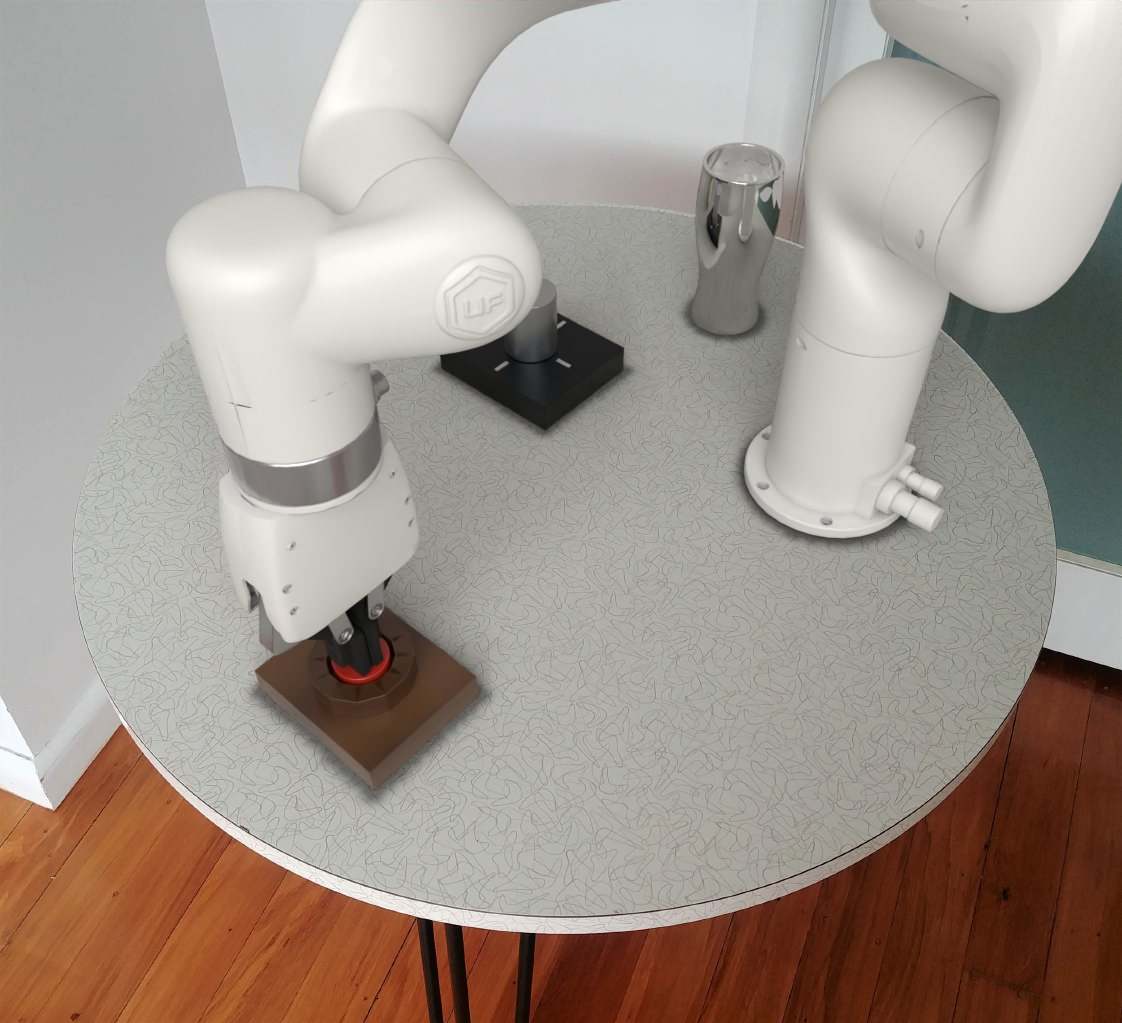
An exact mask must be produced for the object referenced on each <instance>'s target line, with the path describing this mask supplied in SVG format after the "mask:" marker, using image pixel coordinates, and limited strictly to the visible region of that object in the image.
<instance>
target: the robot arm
mask: <svg viewBox="0 0 1122 1023" xmlns="http://www.w3.org/2000/svg"><path fill="white" fill-rule="evenodd" d="M618 1H620V0H360V1H359V2H358V4H357V6H356V7H355V9H354V11H353V13H352V15H351V17H350V18H349V20H348V22H347V25H346V27H345V29H344V30H343V33H342V34H341V37H340V40H339V41H338V44H337V47H336V48H335V52H334V54H333V57H332V59H331V62H330V64H329V65H328V66H329V67H328V69H327V71H326V74H325V77H324V79H323V82H322V84H321V87H320V89H319V92H318V95H317V96H316V99H315V102H314V105H313V108H312V110H311V113H310V116H309V119H308V122H307V125H306V129H305V132H304V135H303V139H302V143H301V149H300V156H299V162H298V163H299V164H298V188H299V190H296V189H292V188H289V187H282V186H273V185H272V186H271V185H269V186H268V185H264V186H263V185H262V186H261V185H259V186H258V185H257V186H247V187H241V188H240V187H239V188H236V189H235V188H234V189H231V190H228V191H223V192H220V193H218V194H215V195H213V196H210V197H207V198H205V199H204V200H202V201H200V202H198V203H196V204H195V205H193V207H191V208H189V209H188V210H187V211H186V212H185V213H184V214H183V215H181V217H179V218H178V220H177V221H176V223H174V225H173V227H172V228H171V231H170V233H169V235H168V237H167V239H166V246H165V252H164V264H165V270H166V273H167V277H168V281H169V285H170V288H171V289H170V290H171V292H172V295H173V297H174V302H175V304H176V307H177V311H178V313H179V316H180V320H181V322H182V325H183V328H184V331H185V335H186V338H187V341H188V344H189V348H190V351H191V354H192V356H193V359H194V362H195V365H196V368H197V372H198V374H199V378H200V381H201V384H202V387H203V390H204V393H205V396H206V399H207V403H208V406H209V408H210V411H211V414H212V417H213V420H214V423H215V427H216V430H217V433H218V436H219V439H220V442H221V446H222V449H223V451H224V455H225V458H226V461H227V464H228V467H229V470H228V471H227V472H226V473H225V474H223V476H221V477H220V479H219V480H218V498H217V499H218V519H219V528H220V535H221V542H222V546H223V552H224V556H225V560H226V565H227V568H228V572H229V576H230V581H231V585H232V587H233V591H234V593H235V597H236V598H237V600H238V603H239V604H240V605H241V606H242V607H243V608H244V609H245V611H246V612H247V613H249V614H251V613H252V612H254V611H255V610H256V609H258V639H259V640H258V641H259V644H260V645H262V646H263V647H264V649H266V650H268V651H269V653H271V654H272V655H273V656H274V655H275V656H278V655H281V654H282V653H284V652H286V651H288V650H289V649H291V648H293V647H295V646H297V645H298V644H300V643H302V640H305V639H308V640H324V644H325V647H326V651H327V653H328V655H329V657H330V658H331V659H332V660H333V661H334V662H335V663H336V664H337V665H338V666H340V667H341V668H345V667H346V666H347V665H349V666H350V667H351V668H352V669H354V670H355V671H356V672H357V673H358V674H360V675H361V676H362V677H364V676H366V675H367V674H368V673H369V672H370V668H371V666H374V665H375V666H377V665H379V664H380V663H381V662H382V661H383V655H382V650H381V646H380V641H379V639H380V638H381V633H380V628H379V623H378V619H377V618H378V617H379V616H380V615H381V614H382V612H383V610H384V606H385V591H386V589H387V587H388V586H389V583H390V582H391V579H392V578H393V575H394V574H395V573H396V572H397V571H399V569H401V568H402V567H403V566H405V564H406V563H407V562H408V561H409V560H410V559H411V558H412V557H413V556H414V555H415V553H416V552H417V550H418V548H419V545H420V533H421V531H420V522H419V514H418V508H417V504H416V499H415V496H414V492H413V487H412V485H411V484H412V483H411V480H410V478H409V475H408V472H407V469H406V466H405V463H404V460H403V459H402V457H401V455H400V452H399V450H398V447H397V446H396V444H395V441H394V439H393V437H392V436H391V434H390V432H389V431H388V428H387V427H386V425H385V424H384V423H383V422H382V421H381V420H380V415H379V409H378V403H379V401H380V400H381V397H382V396H384V395H385V394H387V393H388V392H389V391H390V388H391V387H390V384H389V381H388V379H387V377H386V376H385V375H384V374H383V373H382V372H381V371H380V370H378V369H373V370H371V369H370V364H374V363H382V362H389V361H390V362H391V361H399V360H409V359H416V358H417V359H418V358H426V357H435V356H440V355H443V354H449V353H456V352H461V351H465V350H469V349H472V348H476V347H480V346H482V345H485V344H488V343H490V342H492V341H494V340H496V339H498V338H500V337H502V336H504V335H505V334H507V333H508V332H510V331H511V330H512V329H514V328H515V327H516V326H517V325H518V324H519V323H520V322H521V321H522V320H523V319H524V318H525V317H526V316H527V315H528V313H529V312H530V310H531V309H532V307H533V306H534V304H535V302H536V300H537V298H538V295H539V293H540V289H541V285H542V280H543V278H544V267H543V257H542V253H541V249H540V246H539V244H538V242H537V239H536V238H535V235H534V233H533V231H532V230H531V228H530V227H529V225H528V224H527V223H526V222H525V221H524V219H523V218H522V217H521V216H520V214H519V213H518V212H517V211H516V210H515V209H514V208H513V207H512V206H511V205H510V204H509V203H508V202H507V201H506V199H504V198H503V197H502V196H501V195H500V194H499V193H498V192H497V191H496V190H495V189H494V188H493V187H492V186H491V185H490V184H489V183H487V181H486V180H485V179H484V178H482V176H480V174H478V173H477V172H476V170H475V169H474V168H473V167H472V166H471V165H470V164H468V162H466V161H465V159H463V158H462V156H460V155H459V154H458V153H457V152H456V151H455V150H454V149H453V148H452V147H451V146H450V143H451V141H452V139H453V137H454V134H455V132H456V130H457V128H458V126H459V123H460V121H461V119H462V117H463V114H464V113H465V110H466V108H467V106H468V104H469V102H470V100H471V98H472V96H473V94H474V93H475V90H476V89H477V87H478V86H479V83H480V81H481V80H482V78H483V77H484V75H485V74H486V73H487V71H488V70H489V68H490V66H492V64H493V62H495V60H496V59H497V58H498V57H499V56H500V54H501V53H502V52H503V51H504V50H505V49H506V48H507V47H508V46H509V45H510V44H512V43H513V42H514V40H516V39H517V38H518V37H519V36H520V35H522V34H524V32H527V31H528V30H529V29H531V28H532V27H534V26H535V25H538V24H539V23H541V22H543V21H545V20H547V19H549V18H551V17H555V16H558V15H560V14H561V15H562V14H564V13H567V12H570V11H571V12H572V11H575V10H579V9H583V8H588V7H593V6H598V5H602V4H606V3H613V2H618ZM868 4H869V7H870V11H871V13H872V16H873V17H874V19H875V21H876V23H877V25H878V26H880V27H881V28H882V30H883V31H884V32H885V33H886V34H887V35H888V36H890V37H891V38H893V39H894V40H896V42H898V43H900V44H901V45H903V46H905V47H906V48H908V49H910V50H911V51H913V52H915V53H916V54H918V55H920V56H922V57H923V58H925V59H927V60H929V61H930V62H932V63H934V64H936V65H938V66H939V67H938V66H936V65H933V64H931V63H928V62H924V61H921V60H917V59H913V58H907V57H898V56H897V57H884V58H879V59H875V60H870V61H867V62H865V63H862V64H860V65H859V66H856V67H855V68H853V69H852V70H850V71H848V72H847V73H846V74H844V75H843V76H842V77H841V78H840V79H839V80H838V81H837V82H836V83H835V84H834V85H833V86H832V87H831V88H830V89H829V91H828V92H827V94H826V95H825V96H824V98H823V99H822V101H821V103H820V104H819V106H818V108H817V109H816V111H815V114H814V115H813V118H812V122H811V124H810V128H809V130H808V135H807V139H806V144H805V151H804V163H803V193H804V194H803V195H804V213H805V214H804V216H805V219H804V220H805V224H804V225H805V228H804V245H803V252H802V261H801V266H800V274H799V279H798V285H797V290H796V296H795V300H794V303H793V304H794V305H793V310H792V316H791V320H790V327H789V331H788V337H787V342H786V347H785V352H784V359H783V363H782V369H781V375H780V380H779V385H778V390H777V391H778V392H777V394H776V395H777V397H776V401H775V406H774V412H773V416H772V418H773V419H772V423H770V424H769V425H767V426H765V428H762V429H761V430H760V431H759V432H758V433H757V434H756V435H755V436H754V437H753V438H752V439H751V442H750V443H749V445H748V447H747V449H746V453H745V457H744V465H743V476H744V482H745V486H746V487H747V489H748V492H749V494H750V495H751V497H752V498H753V500H754V501H755V503H756V504H757V505H758V506H759V507H760V508H761V509H762V510H763V511H764V512H765V513H766V514H767V515H769V516H771V517H772V518H773V519H775V520H776V521H777V522H779V523H781V524H783V525H785V526H787V527H789V528H791V529H793V530H796V531H799V532H802V533H804V534H808V535H811V536H816V537H824V538H827V539H828V538H830V539H849V538H857V537H864V536H867V535H870V534H874V533H878V532H879V531H881V530H883V529H885V528H887V527H889V526H890V525H891V524H893V523H894V522H896V520H898V519H899V518H900V516H901V517H903V518H905V519H907V522H909V523H911V524H913V525H914V526H916V527H918V528H920V529H922V530H924V531H925V532H928V533H930V534H931V533H932V532H933V531H934V530H935V529H936V527H937V526H938V525H939V523H940V521H941V520H942V518H943V516H944V513H945V509H944V508H942V507H940V506H939V505H938V504H935V503H933V502H936V501H937V500H938V498H940V495H941V494H942V491H943V489H944V485H943V484H941V483H939V482H937V481H936V480H933V479H931V478H930V477H925V476H923V475H922V474H919V473H918V472H916V471H917V470H916V469H917V468H916V467H915V466H913V465H911V464H912V462H913V461H912V460H913V458H914V455H915V452H916V449H917V446H916V445H914V444H912V443H910V442H907V441H906V439H907V436H908V432H909V430H910V427H911V423H912V420H913V417H914V414H915V410H916V407H917V404H918V401H919V397H920V394H921V392H922V388H923V385H924V381H925V379H926V376H927V372H928V369H929V366H930V362H931V359H932V356H933V353H934V350H935V347H936V343H937V339H938V337H939V334H940V333H941V330H942V326H943V323H944V320H945V317H946V313H947V310H948V304H949V298H950V293H951V294H952V295H953V296H955V297H956V298H959V299H960V300H962V301H964V302H966V303H967V304H968V305H971V306H973V307H975V308H978V309H981V310H983V311H987V312H991V313H997V314H1011V313H1012V314H1013V313H1019V312H1023V311H1027V310H1029V309H1031V308H1034V307H1036V306H1038V305H1040V304H1041V303H1043V302H1045V301H1046V300H1048V299H1049V298H1050V297H1052V296H1053V295H1055V293H1056V292H1058V291H1059V290H1060V289H1061V288H1062V287H1063V286H1064V285H1065V284H1066V283H1067V282H1068V281H1069V279H1070V278H1071V277H1072V276H1073V275H1074V273H1075V272H1076V271H1077V269H1078V268H1079V267H1080V265H1081V264H1082V263H1083V261H1084V259H1085V257H1086V256H1087V254H1088V253H1089V252H1090V250H1091V248H1092V246H1094V243H1095V241H1096V239H1097V237H1098V235H1099V233H1100V231H1101V230H1102V227H1103V226H1104V224H1105V221H1106V219H1107V217H1108V215H1109V212H1110V210H1111V207H1112V206H1113V203H1114V201H1115V199H1116V197H1117V195H1118V192H1119V190H1120V187H1121V185H1122V0H868ZM940 67H942V68H940ZM913 491H914V492H916V493H917V494H918V495H920V496H922V497H919V496H916V495H914V494H913V493H912V492H913ZM931 501H932V502H931Z"/></svg>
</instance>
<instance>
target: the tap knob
mask: <svg viewBox="0 0 1122 1023" xmlns="http://www.w3.org/2000/svg"><path fill="white" fill-rule="evenodd" d="M557 293H558V291H557V287H556V285H555V284H554V283H553V282H552V281H550V280H549V279H547V278H544V277H543V280H542V285H541V289H540V293H539V295H538V298H537V300H536V302H535V304H534V306H533V307H532V309H531V310H530V312H529V313H528V315H527V316H526V317H525V318H524V319H523V320H522V321H521V322H520V323H519V324H518V325H517V326H516V327H515V328H514V329H512V330H511V331H510V332H508V333H507V334H505V335H504V337H505V349H506V352H507V353H508V354H509V355H510V356H511V357H512V358H514V359H516V360H518V361H522V362H539V361H543V360H546V359H548V358H549V357H551V356H552V355H553V354H554V353H555V352H556V350H557V313H558V294H557Z"/></svg>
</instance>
